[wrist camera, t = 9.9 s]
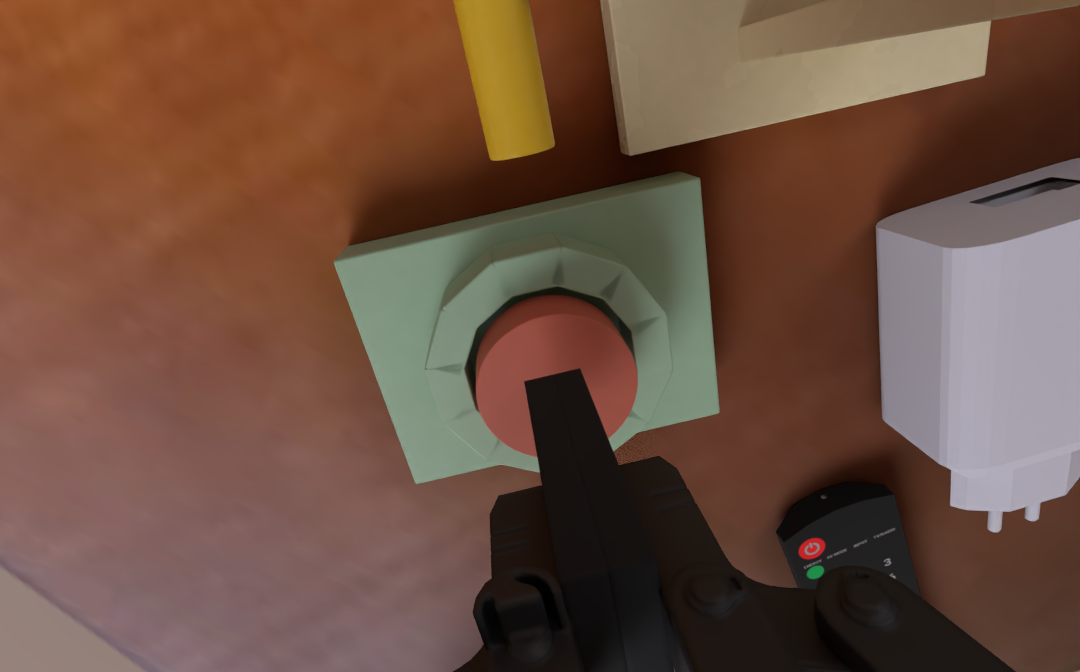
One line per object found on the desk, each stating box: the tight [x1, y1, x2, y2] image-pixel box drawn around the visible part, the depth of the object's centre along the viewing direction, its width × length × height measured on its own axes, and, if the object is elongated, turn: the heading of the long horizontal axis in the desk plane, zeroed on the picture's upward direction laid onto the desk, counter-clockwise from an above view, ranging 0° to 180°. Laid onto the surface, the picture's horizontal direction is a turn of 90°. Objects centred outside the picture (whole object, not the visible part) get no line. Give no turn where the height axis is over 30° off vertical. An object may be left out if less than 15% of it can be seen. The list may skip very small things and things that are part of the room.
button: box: [476, 294, 638, 457], centre depth 17 cm, size 5×5×2 cm
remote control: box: [776, 482, 921, 597], centre depth 30 cm, size 5×24×1 cm, turn 26°
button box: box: [334, 171, 719, 484], centre depth 19 cm, size 12×9×4 cm
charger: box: [876, 158, 1080, 532], centre depth 21 cm, size 5×9×15 cm
